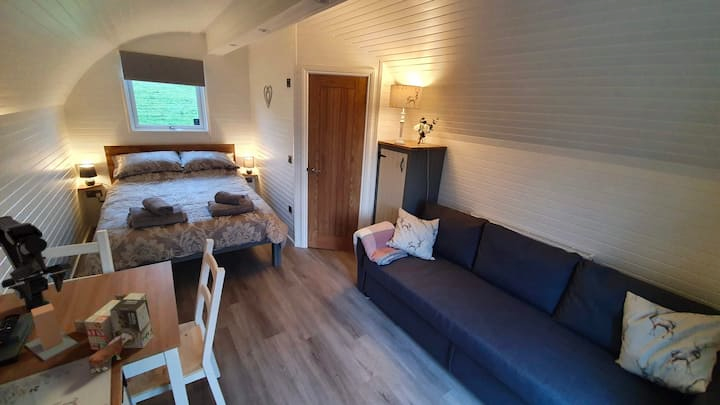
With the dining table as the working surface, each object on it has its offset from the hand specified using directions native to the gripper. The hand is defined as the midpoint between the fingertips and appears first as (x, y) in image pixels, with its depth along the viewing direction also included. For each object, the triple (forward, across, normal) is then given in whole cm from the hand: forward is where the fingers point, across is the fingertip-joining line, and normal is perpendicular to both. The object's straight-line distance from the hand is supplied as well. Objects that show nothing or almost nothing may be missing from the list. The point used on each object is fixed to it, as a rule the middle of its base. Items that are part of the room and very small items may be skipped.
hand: (45, 296), depth 116 cm
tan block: (+16, +3, -8) cm, 18 cm away
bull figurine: (+28, +24, -19) cm, 41 cm away
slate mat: (+17, +2, -8) cm, 19 cm away
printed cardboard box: (+21, +22, -3) cm, 31 cm away
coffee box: (+26, +28, -11) cm, 40 cm away
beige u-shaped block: (+16, +15, +5) cm, 22 cm away
